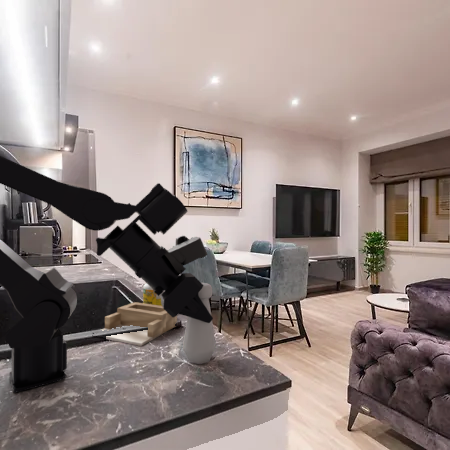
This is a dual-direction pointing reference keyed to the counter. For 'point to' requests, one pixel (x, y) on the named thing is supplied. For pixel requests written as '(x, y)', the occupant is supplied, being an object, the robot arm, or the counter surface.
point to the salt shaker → (200, 333)
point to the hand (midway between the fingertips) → (207, 316)
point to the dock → (139, 322)
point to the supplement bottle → (150, 296)
